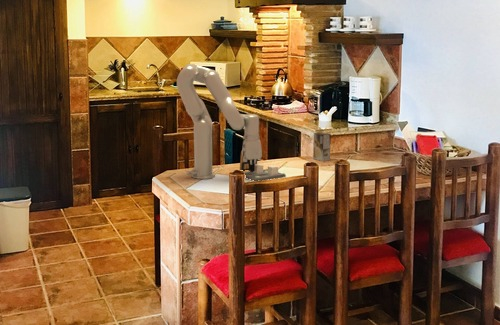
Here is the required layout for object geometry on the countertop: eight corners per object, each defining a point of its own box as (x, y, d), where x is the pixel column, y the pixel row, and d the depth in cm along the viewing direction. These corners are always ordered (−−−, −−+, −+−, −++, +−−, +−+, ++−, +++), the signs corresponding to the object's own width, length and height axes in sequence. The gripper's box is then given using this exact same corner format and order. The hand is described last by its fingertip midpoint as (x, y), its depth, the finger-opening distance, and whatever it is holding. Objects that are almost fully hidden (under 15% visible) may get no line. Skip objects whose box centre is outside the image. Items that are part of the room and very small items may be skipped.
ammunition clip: (241, 171, 365) (241, 150, 362) (239, 170, 366) (239, 149, 364) (257, 169, 370) (257, 148, 368) (255, 168, 372) (255, 147, 369)
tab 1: (257, 174, 353) (257, 166, 352) (252, 172, 356) (252, 164, 355) (263, 173, 355) (263, 165, 354) (259, 171, 358) (259, 163, 357)
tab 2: (271, 175, 350) (272, 167, 349) (267, 174, 353) (267, 166, 352) (277, 174, 352) (278, 166, 351) (273, 173, 355) (273, 165, 354)
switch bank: (254, 181, 342) (254, 178, 342) (240, 176, 354) (240, 173, 353) (285, 176, 353) (285, 173, 353) (270, 171, 364) (270, 168, 364)
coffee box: (330, 160, 395) (331, 133, 391) (322, 161, 391) (323, 135, 388) (320, 157, 402) (320, 131, 399) (312, 158, 398) (313, 132, 395)
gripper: (243, 140, 342) (243, 174, 346) (267, 137, 350) (267, 170, 354) (236, 138, 348) (236, 171, 352) (259, 135, 356) (259, 168, 360)
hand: (251, 171), depth 353 cm, fingers closed
